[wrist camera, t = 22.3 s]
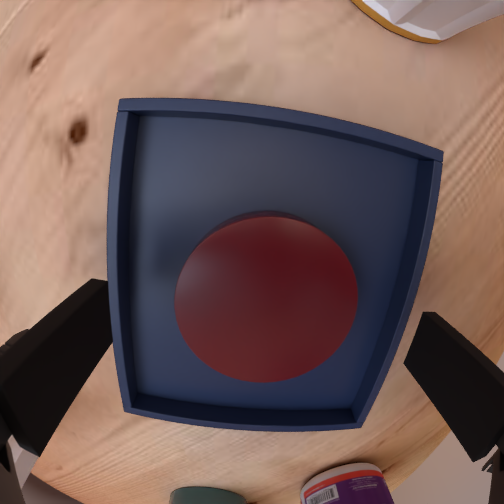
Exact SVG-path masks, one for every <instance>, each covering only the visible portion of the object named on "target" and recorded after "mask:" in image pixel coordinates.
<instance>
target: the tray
mask: <svg viewBox="0 0 504 504" xmlns="http://www.w3.org/2000/svg"><path fill="white" fill-rule="evenodd" d="M118 111H119V112H117V117H116V123H115V130H114V137H113V145H112V154H111V164H110V175H109V189H108V207H107V278H108V286H109V303H110V315H111V326H112V336H113V348H114V356H115V363H116V369H117V376H118V382H119V387H120V393H121V398H122V403H123V408H124V412H127V413H131V414H136V415H140V416H145V417H150V418H154V419H160V420H165V421H171V422H176V423H183V424H189V425H197V426H204V427H213V428H223V429H234V430H248V431H272V432H305V431H329V430H344V429H355V428H361V427H362V425H363V423H364V421H365V419H366V417H367V415H368V413H369V411H370V409H371V407H372V405H373V403H374V401H375V399H376V397H377V395H378V393H379V391H380V389H381V387H382V384H383V382H384V380H385V378H386V375H387V373H388V371H389V368H390V366H391V364H392V361H393V359H394V356H395V354H396V351H397V349H398V346H399V344H400V341H401V338H402V336H403V333H404V330H405V327H406V324H407V322H408V319H409V316H410V313H411V310H412V307H413V303H414V300H415V297H416V294H417V290H418V287H419V283H420V280H421V276H422V272H423V269H424V265H425V261H426V257H427V253H428V248H429V244H430V239H431V235H432V230H433V225H434V220H435V214H436V209H437V203H438V196H439V189H440V182H441V174H442V165H443V163H441V162H443V154H444V152H443V151H441V150H439V149H436V148H433V147H431V146H428V145H425V144H422V143H420V142H417V141H414V140H411V139H408V138H405V137H402V136H399V135H395V134H392V133H389V132H386V131H382V130H379V129H375V128H372V127H368V126H364V125H361V124H357V123H353V122H349V121H345V120H340V119H336V118H332V117H327V116H322V115H318V114H313V113H308V112H302V111H297V110H291V109H285V108H279V107H272V106H265V105H257V104H249V103H240V102H231V101H219V100H205V99H186V98H125V99H120V100H119V105H118ZM268 210H269V211H280V212H284V213H289V214H292V215H295V216H298V217H300V218H303V219H305V220H306V221H308V222H310V223H312V224H313V225H315V226H316V227H317V228H319V229H320V230H321V231H323V232H324V233H325V234H327V235H328V236H329V237H330V238H332V239H333V240H334V241H335V242H336V243H337V244H338V245H339V246H340V248H341V249H342V250H343V252H344V253H345V255H346V256H347V258H348V260H349V262H350V264H351V266H352V268H353V271H354V274H355V277H356V282H357V288H358V302H357V310H356V314H355V319H354V321H353V324H352V327H351V329H350V331H349V333H348V335H347V337H346V338H345V340H344V341H343V343H342V344H341V345H340V347H339V348H338V349H337V350H336V351H335V352H334V353H333V355H332V356H330V357H329V358H328V359H327V360H326V361H325V362H323V363H322V364H320V365H319V366H318V367H316V368H314V369H313V370H311V371H309V372H307V373H305V374H302V375H300V376H298V377H295V378H291V379H288V380H284V381H278V382H268V383H258V382H248V381H242V380H238V379H234V378H231V377H229V376H226V375H223V374H221V373H219V372H218V371H216V370H214V369H212V368H211V367H209V366H208V365H206V364H205V363H204V362H203V361H201V360H200V359H199V358H198V357H197V356H196V355H195V354H194V353H193V351H192V350H191V349H190V348H189V346H188V345H187V343H186V342H185V340H184V338H183V336H182V334H181V332H180V330H179V327H178V324H177V321H176V316H175V310H174V295H175V288H176V284H177V280H178V277H179V274H180V272H181V270H182V267H183V265H184V264H185V262H186V260H187V259H188V257H189V256H190V254H191V252H192V251H193V249H194V248H195V246H196V245H197V243H198V242H199V241H200V240H201V239H202V238H203V237H204V236H205V235H206V234H207V233H208V232H209V231H210V230H211V229H213V228H214V227H216V226H217V225H219V224H220V223H222V222H223V221H225V220H228V219H230V218H232V217H234V216H237V215H240V214H244V213H248V212H254V211H268Z"/></svg>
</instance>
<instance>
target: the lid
mask: <svg viewBox="0 0 504 504" xmlns="http://www.w3.org/2000/svg"><path fill="white" fill-rule="evenodd" d="M357 302H358V288H357V282H356V277H355V274H354V271H353V268H352V266H351V264H350V262H349V260H348V258H347V256H346V255H345V253H344V252H343V250H342V249H341V248H340V246H339V245H338V244H337V243H336V242H335V241H334V240H333V239H332V238H330V237H329V236H328V235H327V234H325V233H324V232H323V231H321V230H320V229H319V228H317V227H316V226H315V225H313V224H312V223H310V222H308V221H306V220H305V219H303V218H300V217H298V216H295V215H292V214H289V213H284V212H280V211H269V210H268V211H254V212H248V213H244V214H240V215H237V216H234V217H232V218H230V219H228V220H225V221H223V222H222V223H220V224H219V225H217V226H216V227H214V228H213V229H211V230H210V231H209V232H208V233H207V234H206V235H205V236H204V237H203V238H202V239H201V240H200V241H199V242H198V243H197V245H196V246H195V248H194V249H193V251H192V252H191V254H190V256H189V257H188V259H187V260H186V262H185V264H184V265H183V267H182V270H181V272H180V274H179V277H178V280H177V284H176V288H175V295H174V310H175V316H176V321H177V324H178V327H179V330H180V332H181V334H182V336H183V338H184V340H185V342H186V343H187V345H188V346H189V348H190V349H191V350H192V351H193V353H194V354H195V355H196V356H197V357H198V358H199V359H200V360H201V361H203V362H204V363H205V364H206V365H208V366H209V367H211V368H212V369H214V370H216V371H218V372H219V373H221V374H223V375H226V376H229V377H231V378H234V379H238V380H242V381H248V382H258V383H268V382H278V381H284V380H288V379H291V378H295V377H298V376H300V375H302V374H305V373H307V372H309V371H311V370H313V369H314V368H316V367H318V366H319V365H320V364H322V363H323V362H325V361H326V360H327V359H328V358H329V357H330V356H332V355H333V353H334V352H335V351H336V350H337V349H338V348H339V347H340V345H341V344H342V343H343V341H344V340H345V338H346V337H347V335H348V333H349V331H350V329H351V327H352V324H353V321H354V319H355V314H356V310H357Z"/></svg>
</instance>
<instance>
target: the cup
mask: <svg viewBox="0 0 504 504" xmlns="http://www.w3.org/2000/svg"><path fill="white" fill-rule="evenodd" d="M351 1H353V2H354V3H355V4H356V5H357V6H358V7H359V8H360V9H361V10H362V11H363V12H364V13H366V14H367V15H369V16H370V17H371V18H373V19H374V20H375V21H377V22H378V23H380V24H381V25H382V26H384V27H385V28H387V29H388V30H390V31H393V32H395V33H397V34H399V35H402V36H404V37H407V38H409V39H412V40H414V41H419V42H425V43H433V44H437V43H439V42H442V41H444V40H446V39H448V38H450V37H452V36H454V35H455V34H457V33H460V32H462V31H464V30H466V29H469V28H471V27H473V26H475V25H478V24H480V23H483V22H485V21H487V20H490V19H492V18H495V17H497V16H500V15H503V14H504V0H351Z"/></svg>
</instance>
